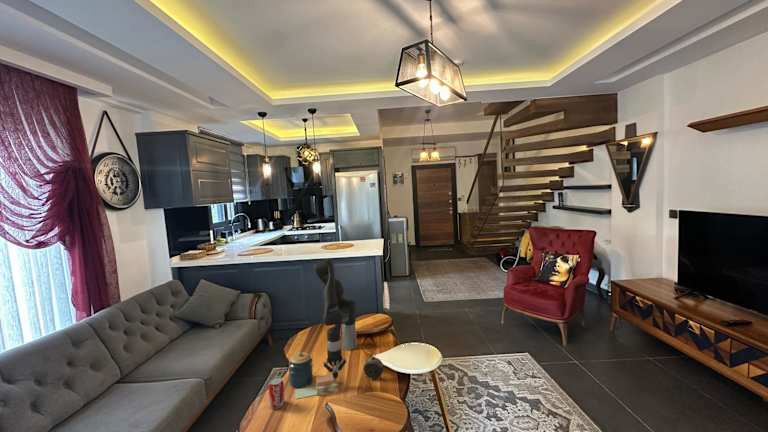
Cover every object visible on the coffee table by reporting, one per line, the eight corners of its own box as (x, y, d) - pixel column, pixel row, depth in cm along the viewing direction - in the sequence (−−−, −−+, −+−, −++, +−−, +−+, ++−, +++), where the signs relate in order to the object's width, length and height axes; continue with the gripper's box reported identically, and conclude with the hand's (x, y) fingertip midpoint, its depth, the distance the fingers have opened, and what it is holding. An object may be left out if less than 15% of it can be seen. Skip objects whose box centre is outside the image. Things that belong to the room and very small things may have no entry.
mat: (315, 386, 176) (315, 385, 176) (317, 394, 168) (317, 394, 168) (295, 390, 173) (295, 389, 173) (295, 399, 165) (295, 398, 165)
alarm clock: (384, 377, 182) (383, 350, 181) (382, 383, 177) (381, 355, 176) (365, 375, 185) (364, 348, 183) (363, 381, 179) (362, 353, 178)
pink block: (332, 377, 177) (332, 373, 177) (333, 383, 172) (333, 379, 171) (316, 380, 175) (315, 376, 175) (317, 386, 169) (316, 382, 169)
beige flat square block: (335, 381, 180) (335, 374, 180) (338, 391, 170) (337, 384, 170) (315, 385, 177) (315, 378, 177) (317, 396, 167) (316, 388, 167)
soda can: (271, 401, 164) (270, 377, 163) (285, 399, 165) (284, 375, 164) (267, 410, 157) (266, 385, 156) (282, 409, 158) (281, 384, 157)
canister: (292, 391, 172) (290, 360, 171) (287, 379, 183) (285, 349, 182) (315, 384, 178) (314, 353, 177) (309, 372, 189) (308, 344, 188)
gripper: (345, 342, 179) (346, 371, 180) (321, 346, 175) (322, 376, 176) (347, 348, 172) (348, 379, 173) (322, 352, 168) (324, 384, 169)
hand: (335, 377), depth 175 cm, fingers closed
